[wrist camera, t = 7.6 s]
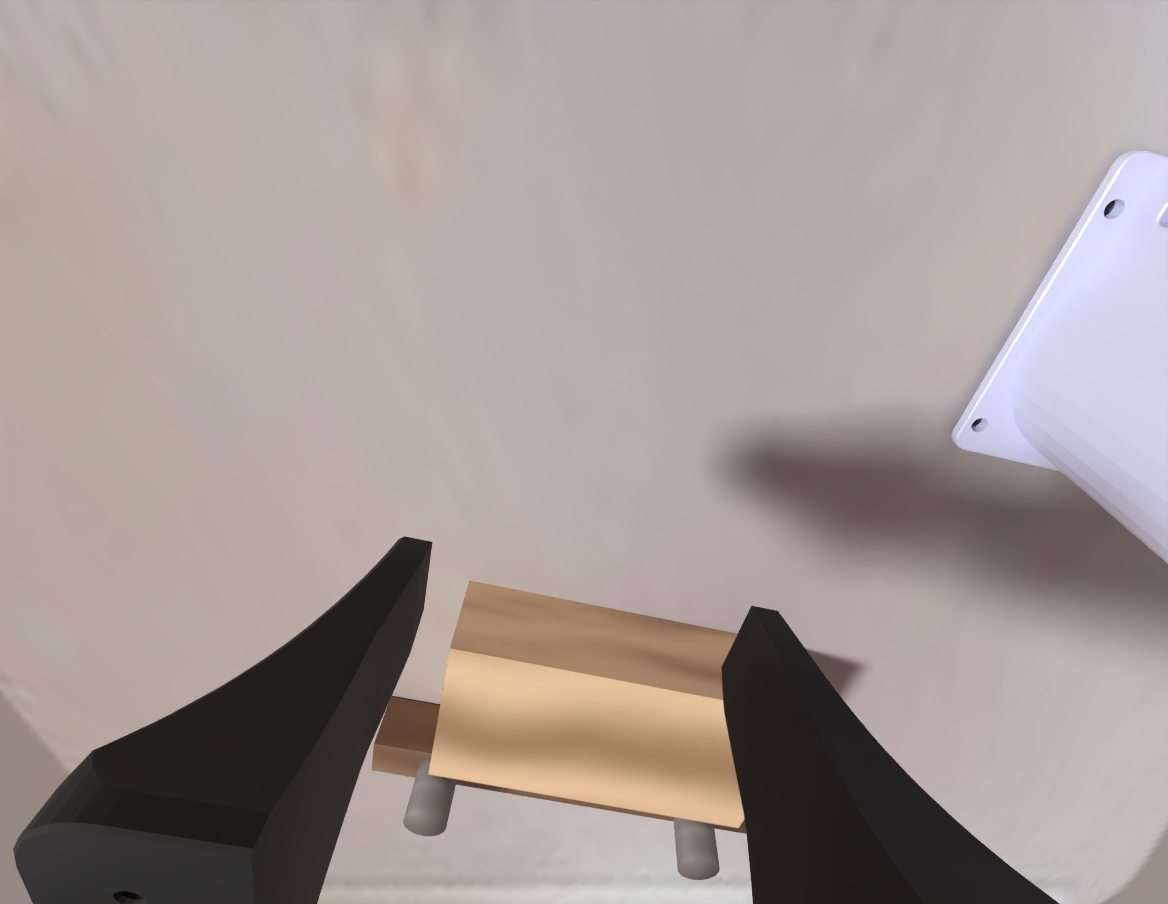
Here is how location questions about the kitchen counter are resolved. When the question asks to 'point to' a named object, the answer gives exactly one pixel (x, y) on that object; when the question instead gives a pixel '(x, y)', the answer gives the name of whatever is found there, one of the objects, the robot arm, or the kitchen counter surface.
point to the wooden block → (587, 706)
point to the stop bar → (409, 754)
